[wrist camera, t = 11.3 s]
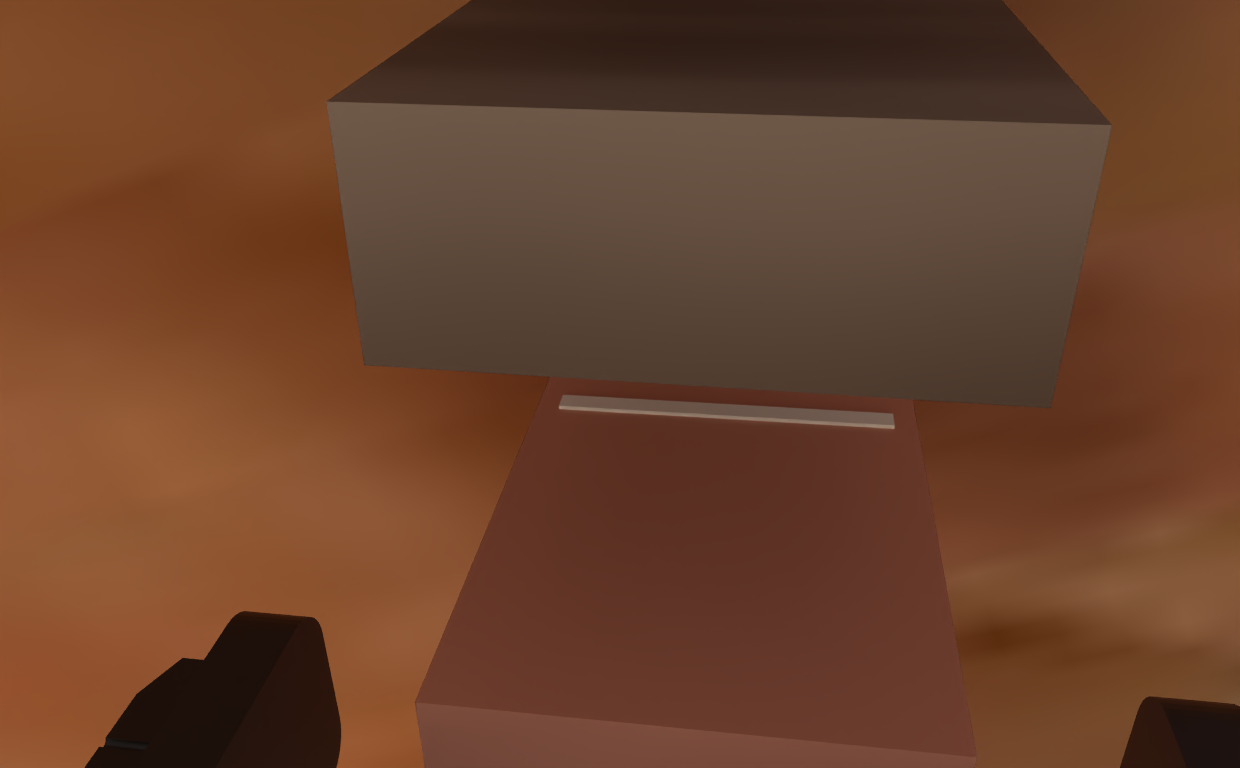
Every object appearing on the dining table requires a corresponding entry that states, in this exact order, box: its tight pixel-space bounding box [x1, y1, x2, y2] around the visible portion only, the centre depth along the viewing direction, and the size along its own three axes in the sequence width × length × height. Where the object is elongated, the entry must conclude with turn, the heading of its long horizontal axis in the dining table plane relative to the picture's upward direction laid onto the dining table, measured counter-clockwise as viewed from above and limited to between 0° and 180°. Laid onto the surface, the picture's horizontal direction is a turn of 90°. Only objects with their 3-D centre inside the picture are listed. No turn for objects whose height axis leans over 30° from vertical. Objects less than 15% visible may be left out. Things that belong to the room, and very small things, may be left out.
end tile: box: [415, 377, 977, 768], centre depth 15 cm, size 2×5×11 cm, turn 91°
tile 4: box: [327, 0, 1112, 408], centre depth 12 cm, size 2×5×11 cm, turn 90°
